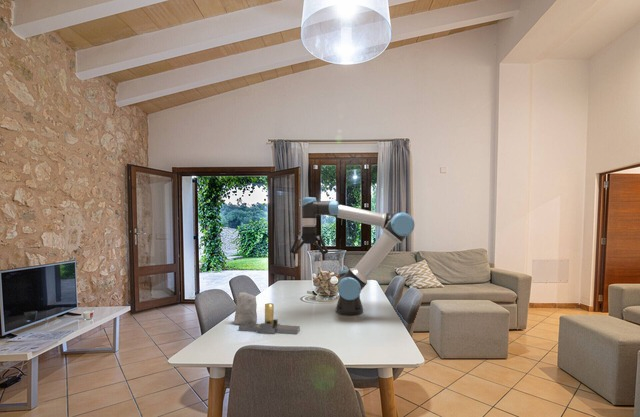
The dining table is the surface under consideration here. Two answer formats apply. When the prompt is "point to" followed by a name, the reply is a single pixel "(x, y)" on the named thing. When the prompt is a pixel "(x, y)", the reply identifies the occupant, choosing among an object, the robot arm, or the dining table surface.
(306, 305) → the dining table surface
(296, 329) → the link plates
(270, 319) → the link pin
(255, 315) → the decorative stone
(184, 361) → the dining table surface
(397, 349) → the dining table surface
